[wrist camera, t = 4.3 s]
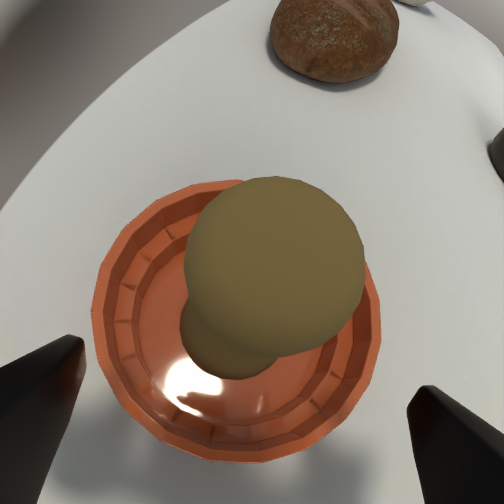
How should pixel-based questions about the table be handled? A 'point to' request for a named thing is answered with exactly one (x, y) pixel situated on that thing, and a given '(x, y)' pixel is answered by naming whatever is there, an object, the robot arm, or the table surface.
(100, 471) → the table surface
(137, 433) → the table surface
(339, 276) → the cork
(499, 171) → the jar
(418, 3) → the chamber pot
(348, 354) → the bowl
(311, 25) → the bread
